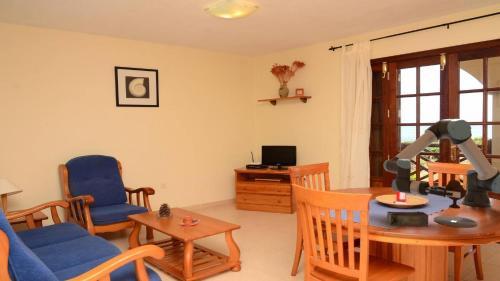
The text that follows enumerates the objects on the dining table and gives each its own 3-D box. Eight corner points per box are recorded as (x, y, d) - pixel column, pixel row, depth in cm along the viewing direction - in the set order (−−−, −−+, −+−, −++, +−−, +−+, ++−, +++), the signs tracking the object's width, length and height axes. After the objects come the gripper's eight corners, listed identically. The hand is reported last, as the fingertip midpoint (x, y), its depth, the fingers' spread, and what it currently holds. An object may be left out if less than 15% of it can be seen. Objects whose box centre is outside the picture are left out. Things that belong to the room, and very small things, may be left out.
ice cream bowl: (469, 210, 188) (470, 181, 188) (446, 209, 191) (447, 180, 190) (462, 205, 199) (463, 178, 198) (440, 204, 201) (441, 177, 200)
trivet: (470, 218, 202) (470, 217, 202) (482, 228, 183) (482, 227, 183) (430, 216, 207) (430, 214, 207) (437, 225, 188) (438, 224, 188)
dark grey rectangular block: (386, 222, 197) (386, 210, 196) (423, 223, 195) (423, 210, 194) (390, 226, 189) (390, 213, 188) (429, 227, 187) (429, 214, 186)
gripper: (428, 192, 215) (470, 197, 199) (411, 197, 199) (456, 204, 183) (428, 179, 215) (470, 183, 199) (412, 183, 199) (456, 189, 183)
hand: (463, 193), depth 191 cm, fingers closed on ice cream bowl, 11 cm apart
